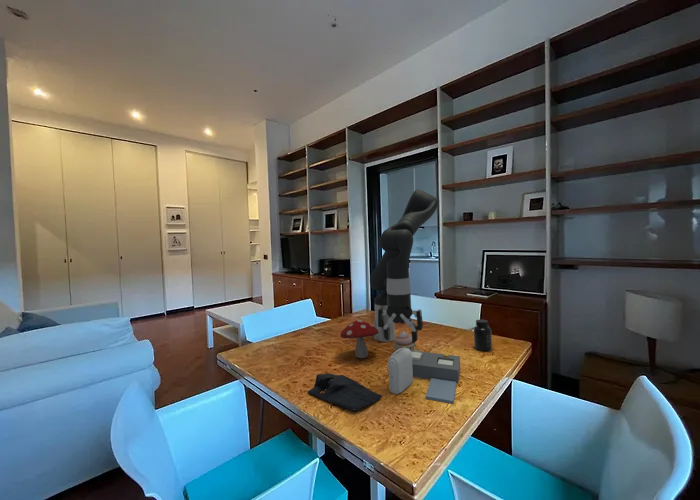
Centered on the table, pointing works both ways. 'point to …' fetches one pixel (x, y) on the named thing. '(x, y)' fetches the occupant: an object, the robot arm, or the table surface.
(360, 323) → the decorative mushroom
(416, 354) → the left switch
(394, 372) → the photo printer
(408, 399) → the table surface
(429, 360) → the switch box
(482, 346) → the supplement bottle
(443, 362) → the right switch
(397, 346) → the cupcake
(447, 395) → the pad
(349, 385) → the folded black shirt
